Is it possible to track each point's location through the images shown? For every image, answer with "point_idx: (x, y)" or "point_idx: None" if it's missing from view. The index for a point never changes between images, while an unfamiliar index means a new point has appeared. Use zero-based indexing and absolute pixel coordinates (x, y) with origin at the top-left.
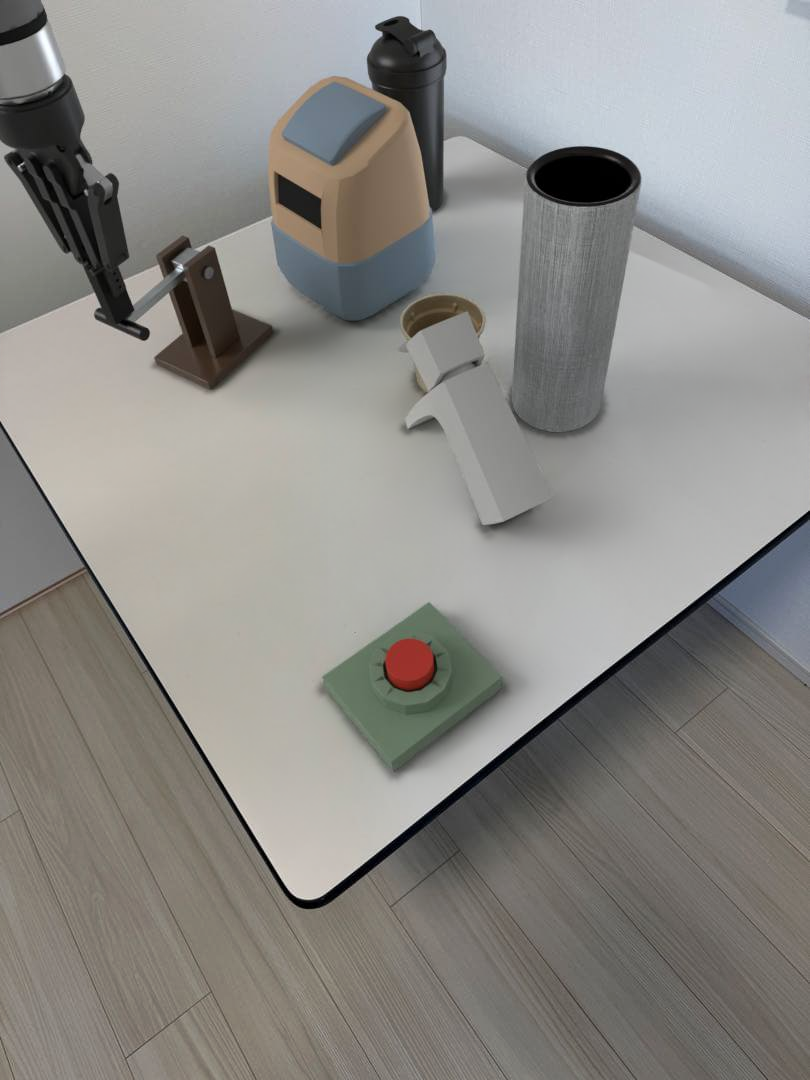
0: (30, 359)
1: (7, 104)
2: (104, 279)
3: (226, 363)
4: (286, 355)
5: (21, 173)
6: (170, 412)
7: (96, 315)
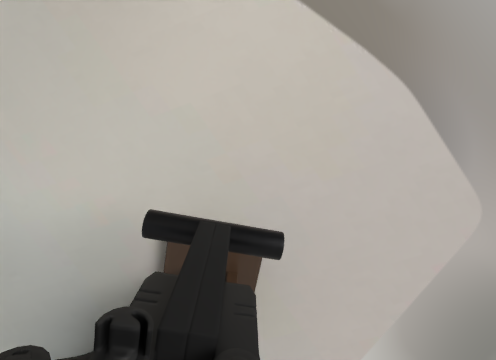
0: (437, 191)
1: None
2: (162, 311)
3: (168, 260)
4: (123, 296)
5: None
6: (197, 170)
7: (276, 237)
